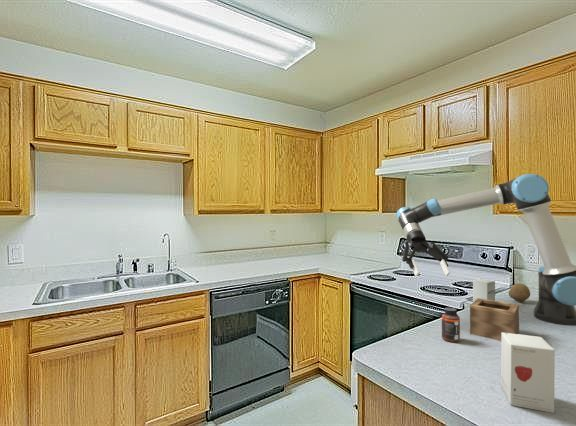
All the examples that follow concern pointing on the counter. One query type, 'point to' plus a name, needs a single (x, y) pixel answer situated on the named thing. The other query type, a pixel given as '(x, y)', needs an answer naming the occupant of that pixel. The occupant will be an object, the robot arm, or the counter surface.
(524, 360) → the supplement box
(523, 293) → the natural sponge
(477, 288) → the supplement box
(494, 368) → the counter surface
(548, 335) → the counter surface
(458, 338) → the supplement bottle
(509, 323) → the box
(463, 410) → the counter surface
